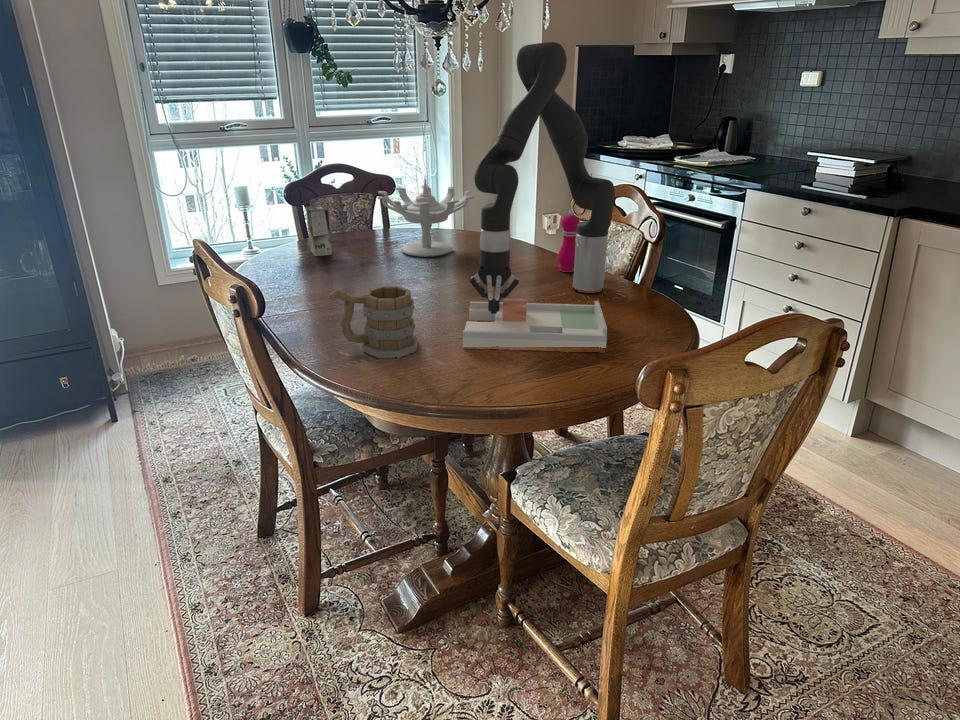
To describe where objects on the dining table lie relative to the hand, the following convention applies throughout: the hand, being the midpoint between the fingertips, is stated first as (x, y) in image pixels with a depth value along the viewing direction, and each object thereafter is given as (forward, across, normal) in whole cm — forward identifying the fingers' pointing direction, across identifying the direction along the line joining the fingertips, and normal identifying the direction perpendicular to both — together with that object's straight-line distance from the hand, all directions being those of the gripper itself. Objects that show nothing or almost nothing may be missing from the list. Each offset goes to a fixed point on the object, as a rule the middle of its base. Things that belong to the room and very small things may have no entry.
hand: (493, 312), depth 169 cm
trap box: (+4, -10, +4) cm, 12 cm away
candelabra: (+4, +28, -74) cm, 79 cm away
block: (+1, -5, 0) cm, 5 cm away
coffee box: (+4, +66, -68) cm, 95 cm away
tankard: (+4, +28, +16) cm, 32 cm away
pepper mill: (+4, -22, -54) cm, 58 cm away
